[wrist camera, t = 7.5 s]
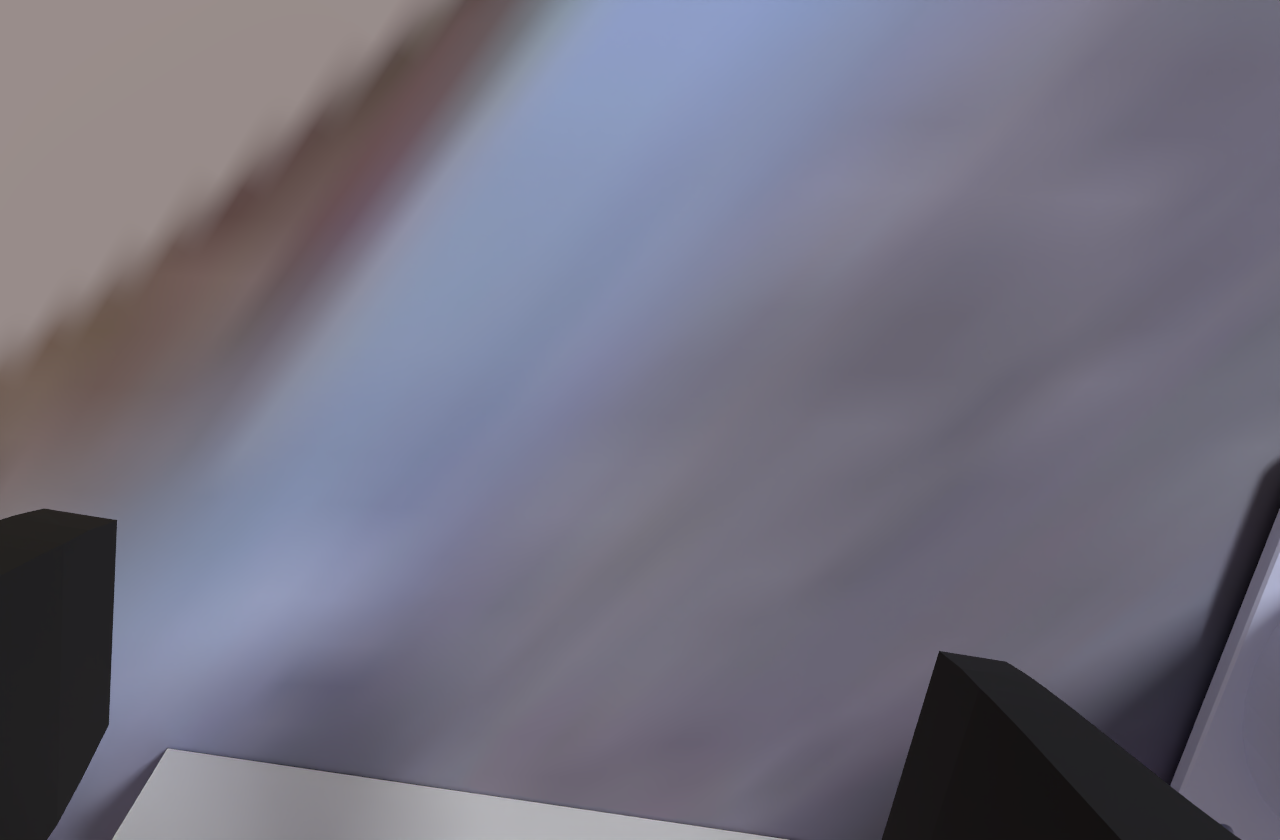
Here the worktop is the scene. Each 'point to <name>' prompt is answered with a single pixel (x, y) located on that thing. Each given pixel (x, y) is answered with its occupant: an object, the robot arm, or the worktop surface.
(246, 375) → the worktop surface
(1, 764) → the robot arm
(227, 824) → the bar
